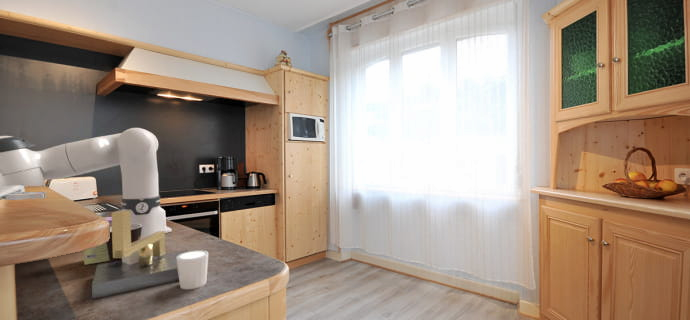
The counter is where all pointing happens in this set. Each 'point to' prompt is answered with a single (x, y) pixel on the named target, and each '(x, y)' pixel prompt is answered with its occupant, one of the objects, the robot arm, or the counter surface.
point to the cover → (131, 258)
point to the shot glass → (192, 269)
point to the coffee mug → (135, 236)
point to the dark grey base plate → (134, 275)
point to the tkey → (143, 246)
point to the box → (97, 251)
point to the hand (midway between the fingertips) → (44, 196)
